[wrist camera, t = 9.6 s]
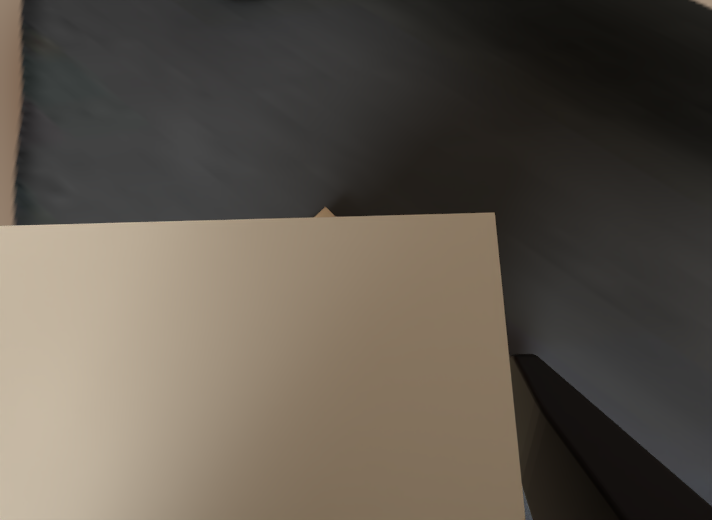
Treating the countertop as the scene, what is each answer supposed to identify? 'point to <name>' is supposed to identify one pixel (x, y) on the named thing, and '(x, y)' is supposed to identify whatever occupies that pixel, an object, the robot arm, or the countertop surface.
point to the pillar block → (257, 371)
